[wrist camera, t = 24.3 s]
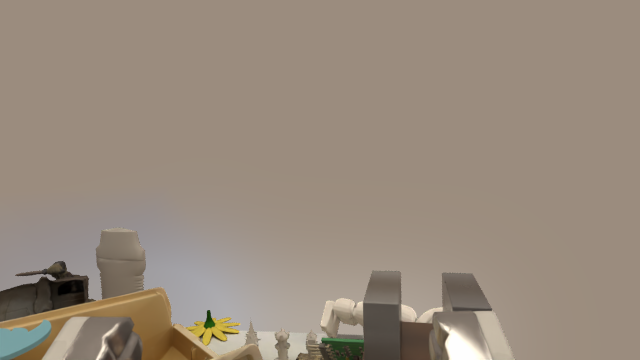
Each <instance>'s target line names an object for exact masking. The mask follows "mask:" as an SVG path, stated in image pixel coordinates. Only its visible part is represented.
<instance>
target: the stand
mask: <svg viewBox="0 0 640 360" xmlns="http://www.w3.org/2000/svg"><path fill="white" fill-rule="evenodd" d="M442 295H443V296H442V299H443V312H448V311H472V312H473V311H492V308H491V306H490V304H489V303H488V301H487V299H486V297H485V295H484V294H483V292H482V290H481V288H480V286H479V285H478V283H477V281H476V279H475V278H474V276H473V274H466V273H442ZM433 329H434V328H433V324H432V323H418V322H402V313H401V272H399V271H372V274H371V278H370V281H369V284H368V288H367V291H366V294H365V298H364V301H363V330H364V353H363V357H362V360H431V359H430V353H429V335H430V331H431V330H433Z"/></svg>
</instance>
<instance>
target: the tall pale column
mask: <svg viewBox="0 0 640 360" xmlns="http://www.w3.org/2000/svg"><path fill="white" fill-rule="evenodd" d="M96 257H97V266H98V268H99V270H100V272H101V273H100V277H101V283H102V284H101V286H102V287H101V288H102V300H103V299H107V298H112V297H117V296H121V295H126V294H130V293H135V292H139V291H143V290H144V289H143V288H144V287H143V285H144V284H143V282H144V281H143V279H144V276H143V275H142V274H143V272H144V270H145V266H146V262H145V250H144V249H143V248H142V247H141V246H140V242H139V239H138V235H137V231H131V230H128V229H124V228H113V229H108V230H102V232H101V239H100V245H99V246H98V247H97V248H96Z"/></svg>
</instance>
